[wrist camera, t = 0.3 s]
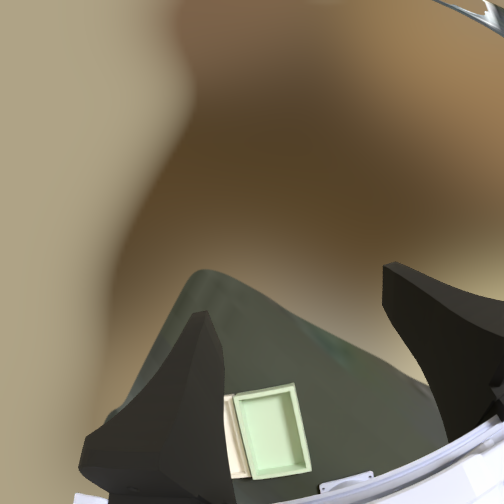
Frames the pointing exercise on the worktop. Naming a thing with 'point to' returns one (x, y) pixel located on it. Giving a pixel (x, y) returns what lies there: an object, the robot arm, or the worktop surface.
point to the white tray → (235, 441)
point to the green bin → (273, 431)
